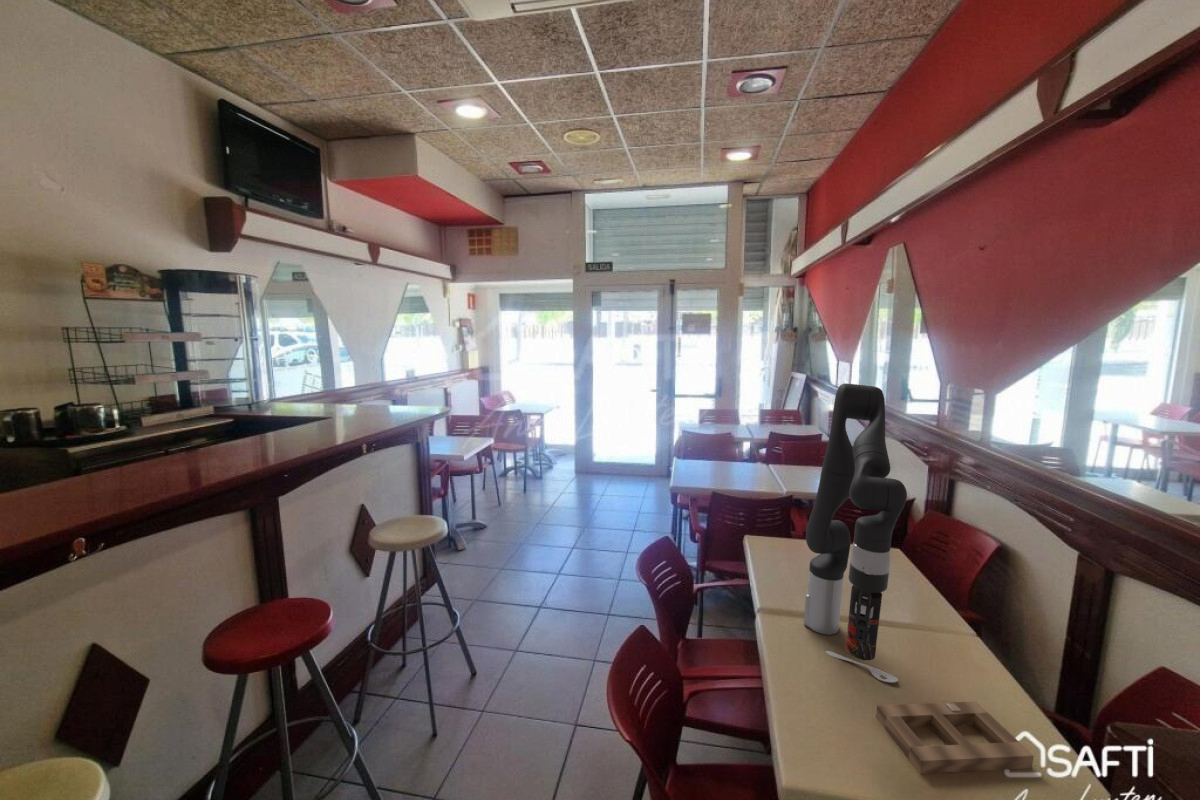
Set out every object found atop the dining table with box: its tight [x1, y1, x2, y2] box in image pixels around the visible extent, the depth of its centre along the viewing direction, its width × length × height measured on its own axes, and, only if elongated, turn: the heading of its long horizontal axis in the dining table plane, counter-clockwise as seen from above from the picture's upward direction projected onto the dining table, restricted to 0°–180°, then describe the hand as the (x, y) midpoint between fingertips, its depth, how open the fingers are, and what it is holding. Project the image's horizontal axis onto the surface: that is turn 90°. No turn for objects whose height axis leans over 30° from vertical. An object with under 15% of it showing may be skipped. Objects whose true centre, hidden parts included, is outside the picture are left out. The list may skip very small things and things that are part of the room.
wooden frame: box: [875, 700, 1035, 775], centre depth 102 cm, size 24×14×3 cm, turn 93°
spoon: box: [825, 650, 899, 684], centre depth 126 cm, size 4×21×2 cm, turn 46°
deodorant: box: [845, 584, 883, 661], centre depth 105 cm, size 6×6×15 cm
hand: (862, 632), depth 106 cm, fingers closed on deodorant, 6 cm apart
